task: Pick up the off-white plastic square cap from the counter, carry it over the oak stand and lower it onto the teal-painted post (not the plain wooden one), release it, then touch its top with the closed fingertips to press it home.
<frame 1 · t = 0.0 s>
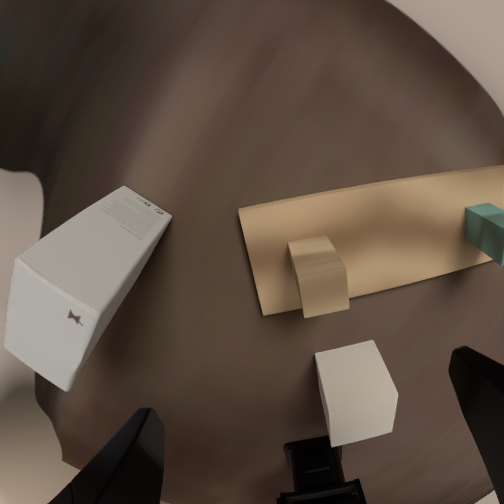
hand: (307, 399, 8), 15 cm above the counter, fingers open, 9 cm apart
skincare box: (130, 233, 22), on the counter
stand: (399, 232, 22), on the counter
cap: (345, 367, 27), on the counter
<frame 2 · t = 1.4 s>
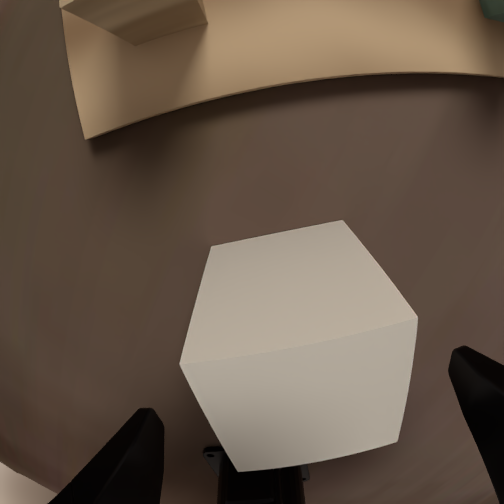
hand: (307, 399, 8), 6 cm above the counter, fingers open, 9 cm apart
cap: (288, 290, 13), on the counter
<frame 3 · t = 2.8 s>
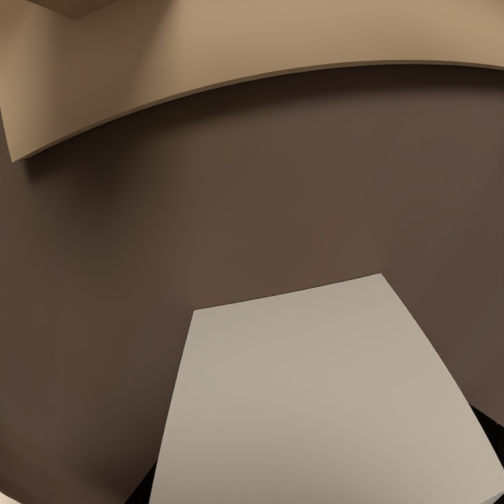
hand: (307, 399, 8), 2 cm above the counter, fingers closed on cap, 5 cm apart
cap: (300, 363, 9), on the counter, touching gripper
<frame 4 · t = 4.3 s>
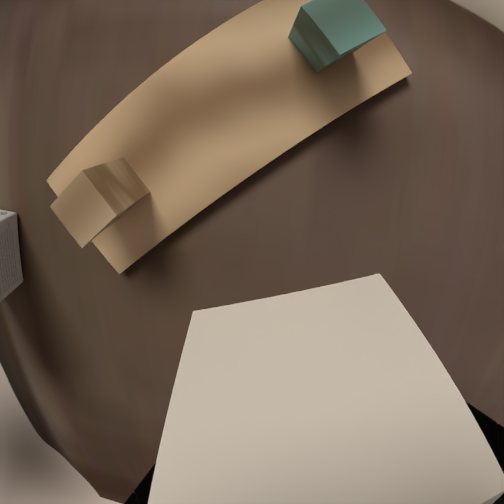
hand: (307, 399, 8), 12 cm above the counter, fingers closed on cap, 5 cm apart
skincare box: (4, 243, 20), on the counter
stand: (217, 112, 17), on the counter
cap: (300, 363, 9), point 11 cm above the counter, touching gripper
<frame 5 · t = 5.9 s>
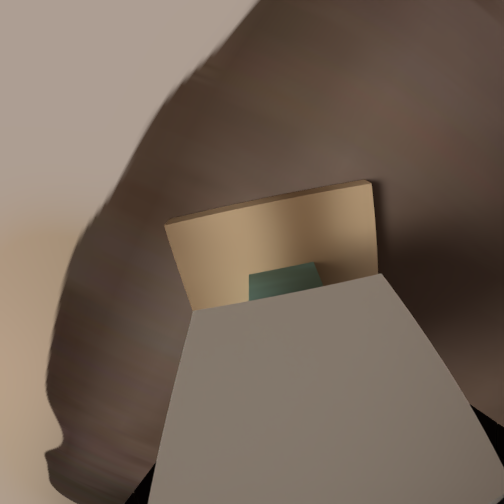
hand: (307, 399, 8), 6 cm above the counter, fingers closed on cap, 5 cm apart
stand: (303, 391, 17), on the counter
cap: (300, 363, 9), point 5 cm above the counter, touching gripper
when the fingers open (3 cm above the counter, at t = 7.5 s): cap stays where it is, resting on stand.
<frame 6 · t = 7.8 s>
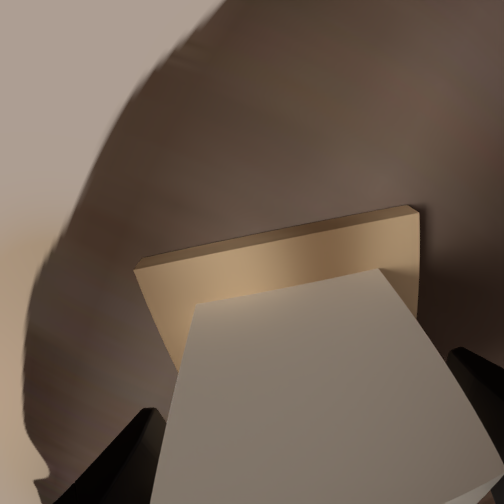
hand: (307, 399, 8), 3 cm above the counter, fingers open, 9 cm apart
stand: (313, 445, 13), on the counter
cap: (300, 356, 10), point 1 cm above the counter, touching stand
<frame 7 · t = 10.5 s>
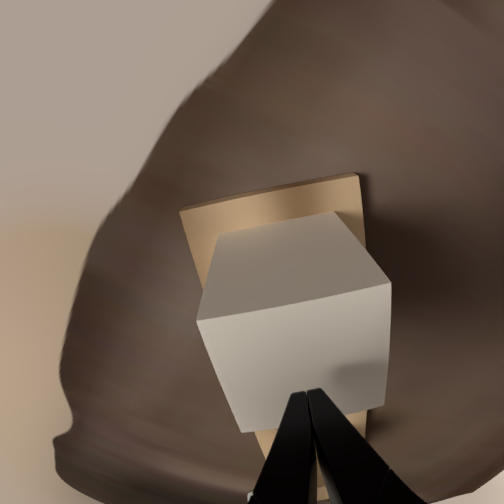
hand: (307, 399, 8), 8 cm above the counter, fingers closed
stand: (302, 368, 19), on the counter
cap: (286, 274, 15), point 1 cm above the counter, touching stand
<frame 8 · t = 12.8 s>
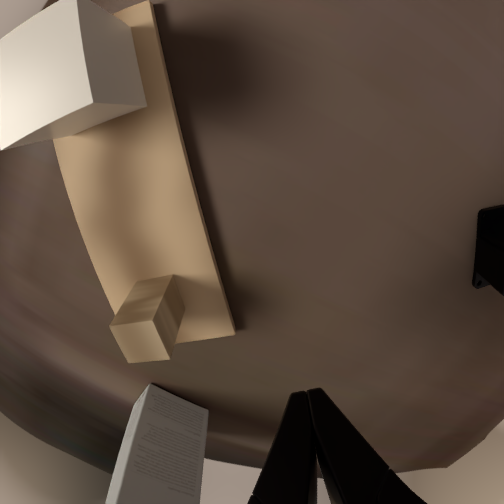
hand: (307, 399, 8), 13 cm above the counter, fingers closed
skincare box: (171, 406, 26), on the counter
stand: (130, 189, 18), on the counter
cap: (97, 80, 15), point 1 cm above the counter, touching stand
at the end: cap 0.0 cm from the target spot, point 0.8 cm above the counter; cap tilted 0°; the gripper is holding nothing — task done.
